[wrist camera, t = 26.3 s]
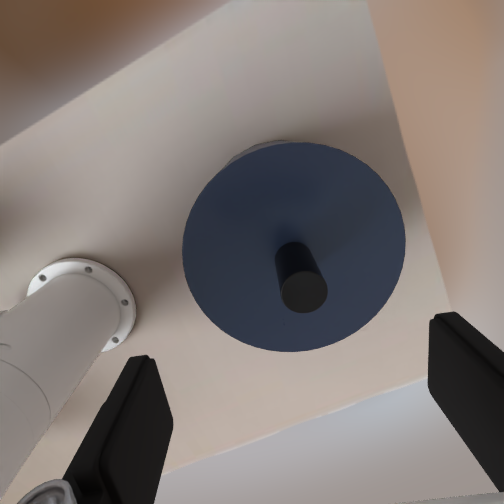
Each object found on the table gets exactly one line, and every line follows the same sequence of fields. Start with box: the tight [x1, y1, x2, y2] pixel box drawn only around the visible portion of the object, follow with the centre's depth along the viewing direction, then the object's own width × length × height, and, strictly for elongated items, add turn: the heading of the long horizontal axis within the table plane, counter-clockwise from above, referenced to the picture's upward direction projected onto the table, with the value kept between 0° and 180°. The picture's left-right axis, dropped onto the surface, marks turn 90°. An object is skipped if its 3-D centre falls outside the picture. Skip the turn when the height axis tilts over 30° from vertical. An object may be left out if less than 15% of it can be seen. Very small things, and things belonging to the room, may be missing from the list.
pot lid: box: [182, 142, 406, 352], centre depth 22 cm, size 17×17×7 cm
